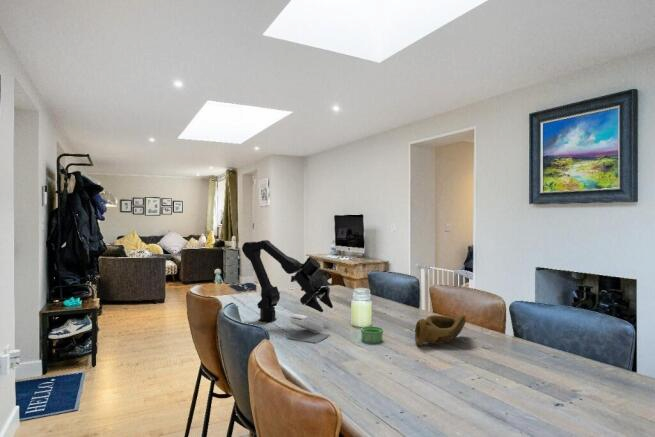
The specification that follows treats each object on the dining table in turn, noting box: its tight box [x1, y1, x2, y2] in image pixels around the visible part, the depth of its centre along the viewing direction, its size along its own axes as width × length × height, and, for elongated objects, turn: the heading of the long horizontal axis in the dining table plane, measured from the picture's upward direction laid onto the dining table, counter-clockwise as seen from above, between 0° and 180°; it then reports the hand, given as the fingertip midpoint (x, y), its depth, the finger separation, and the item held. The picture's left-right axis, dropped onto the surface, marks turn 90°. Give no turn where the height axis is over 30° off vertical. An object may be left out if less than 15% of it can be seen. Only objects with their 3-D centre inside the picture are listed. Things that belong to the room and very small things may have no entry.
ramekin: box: [360, 325, 384, 344], centre depth 158 cm, size 9×9×4 cm
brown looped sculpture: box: [414, 314, 467, 347], centre depth 155 cm, size 18×13×22 cm
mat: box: [285, 329, 331, 344], centre depth 161 cm, size 14×12×1 cm
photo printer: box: [289, 313, 325, 333], centre depth 166 cm, size 10×4×12 cm
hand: (327, 309), depth 174 cm, fingers open, 9 cm apart
